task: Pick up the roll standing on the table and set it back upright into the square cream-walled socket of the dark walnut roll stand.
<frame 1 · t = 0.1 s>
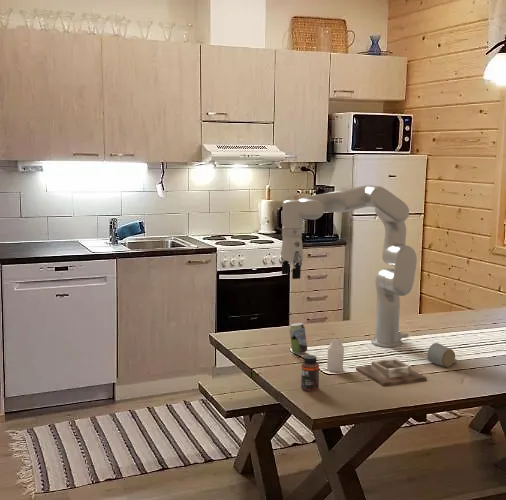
hand: (290, 276, 269), 31 cm above the table, tool pointing down, fingers open, 9 cm apart
roll stand: (390, 374, 251), on the table
supplement bottle: (309, 389, 235), on the table
beverage can: (298, 353, 275), on the table
ceramic mug: (443, 364, 264), on the table
roll: (335, 370, 256), on the table
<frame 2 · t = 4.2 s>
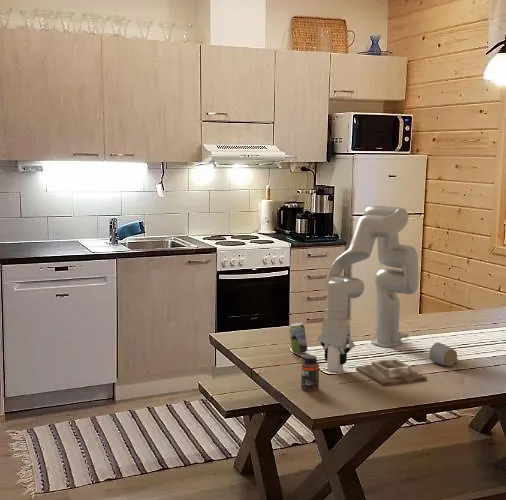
hand: (335, 361, 255), 3 cm above the table, tool pointing down, fingers closed on roll, 5 cm apart
roll: (335, 370, 256), on the table, touching gripper
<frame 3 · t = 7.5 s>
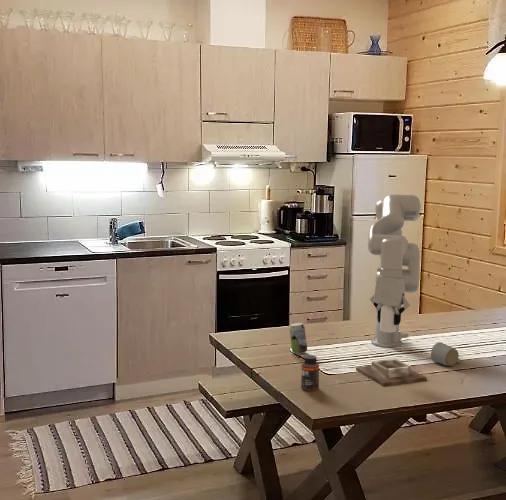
hand: (388, 322, 248), 19 cm above the table, tool pointing down, fingers closed on roll, 5 cm apart
roll: (388, 331, 249), point 16 cm above the table, touching gripper
when the fingers open (5 cm above the table, at t = 11.2 s): roll drops 1 cm, resting on roll stand.
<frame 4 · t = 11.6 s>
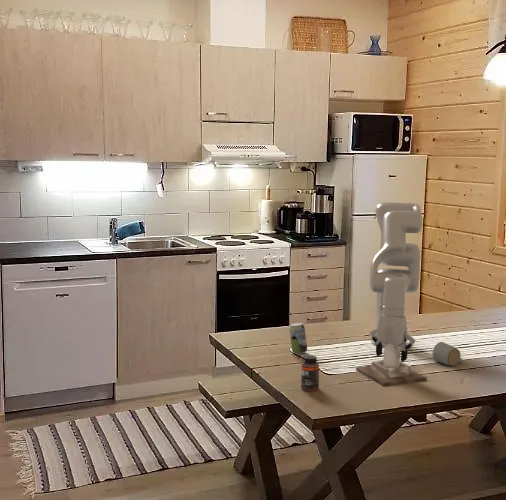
hand: (391, 358, 250), 6 cm above the table, tool pointing down, fingers open, 9 cm apart
roll: (391, 372, 250), point 1 cm above the table, touching roll stand
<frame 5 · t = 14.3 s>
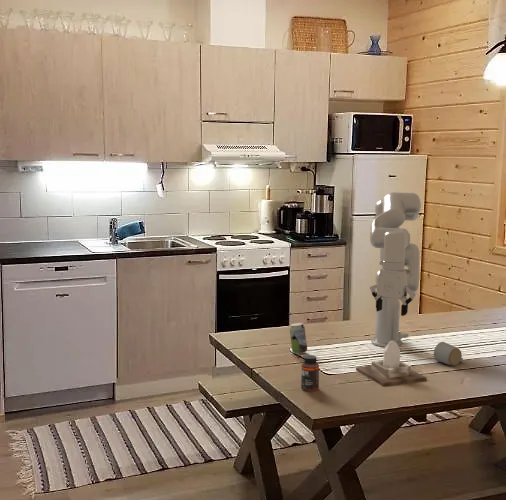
hand: (391, 312, 249), 22 cm above the table, tool pointing down, fingers open, 9 cm apart
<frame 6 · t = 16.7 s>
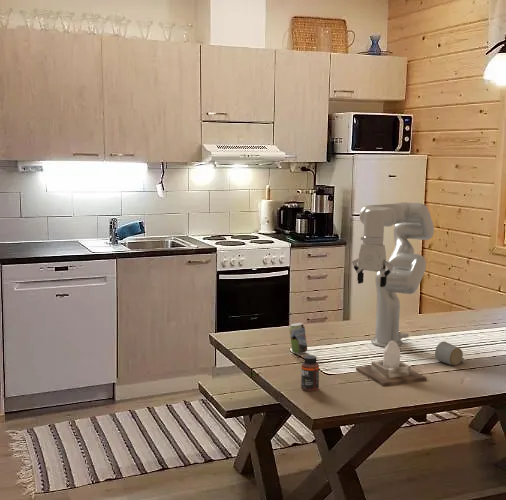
hand: (371, 284, 269), 28 cm above the table, tool pointing down, fingers open, 9 cm apart
at the end: roll 0.2 cm off-centre on the roll stand, point 0.8 cm above the roll stand's base; roll tilted 0°; the gripper is holding nothing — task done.
